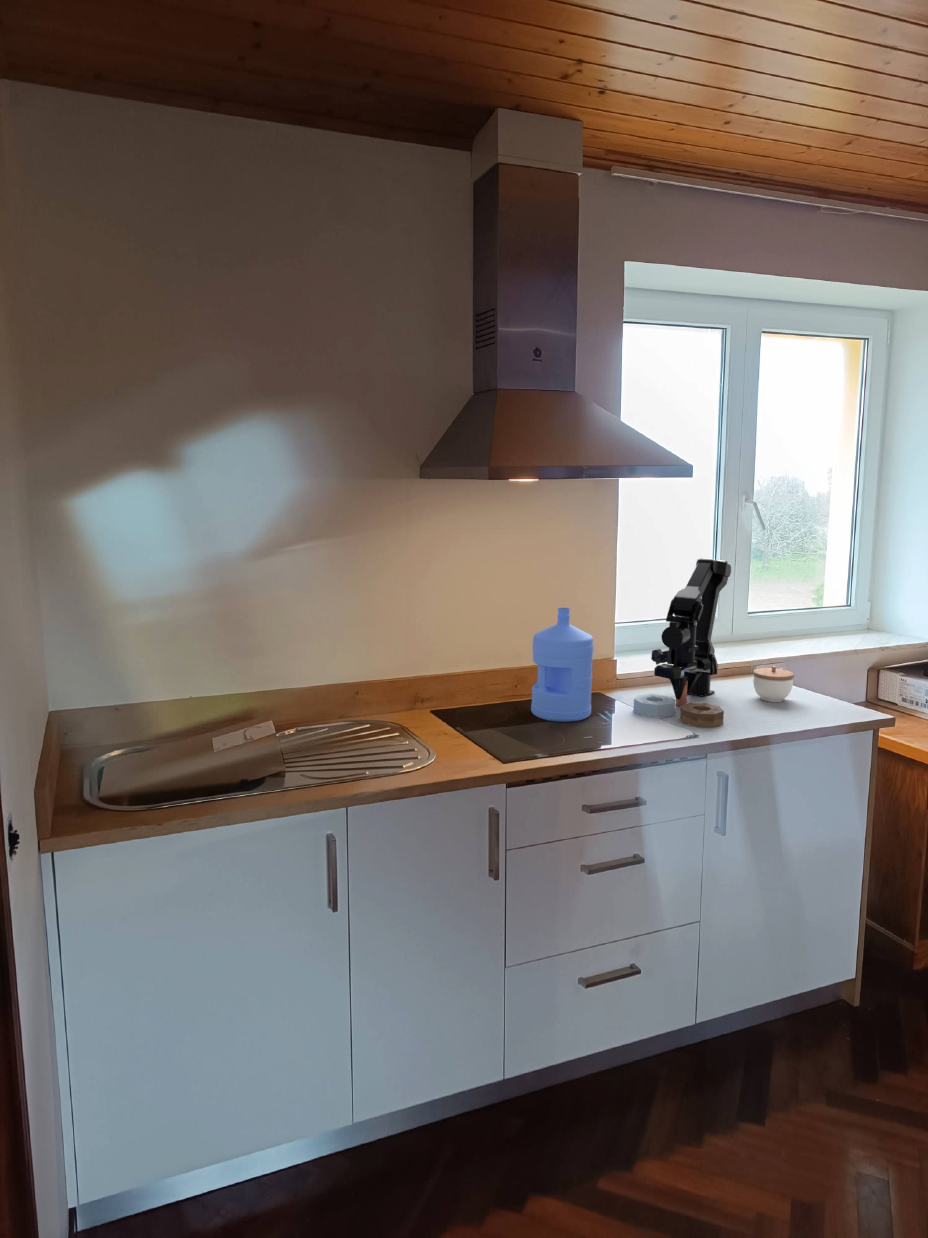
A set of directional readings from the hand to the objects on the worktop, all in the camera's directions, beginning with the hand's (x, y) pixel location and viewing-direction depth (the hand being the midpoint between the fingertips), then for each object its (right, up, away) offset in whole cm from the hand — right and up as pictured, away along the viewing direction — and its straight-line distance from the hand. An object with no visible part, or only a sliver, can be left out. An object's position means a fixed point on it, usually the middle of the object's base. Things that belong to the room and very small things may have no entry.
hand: (681, 698), depth 232 cm
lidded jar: (+27, -1, +7) cm, 28 cm away
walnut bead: (+1, -5, -14) cm, 15 cm away
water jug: (-34, -4, -9) cm, 35 cm away
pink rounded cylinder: (0, -2, 0) cm, 2 cm away
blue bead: (-9, -3, -6) cm, 11 cm away
